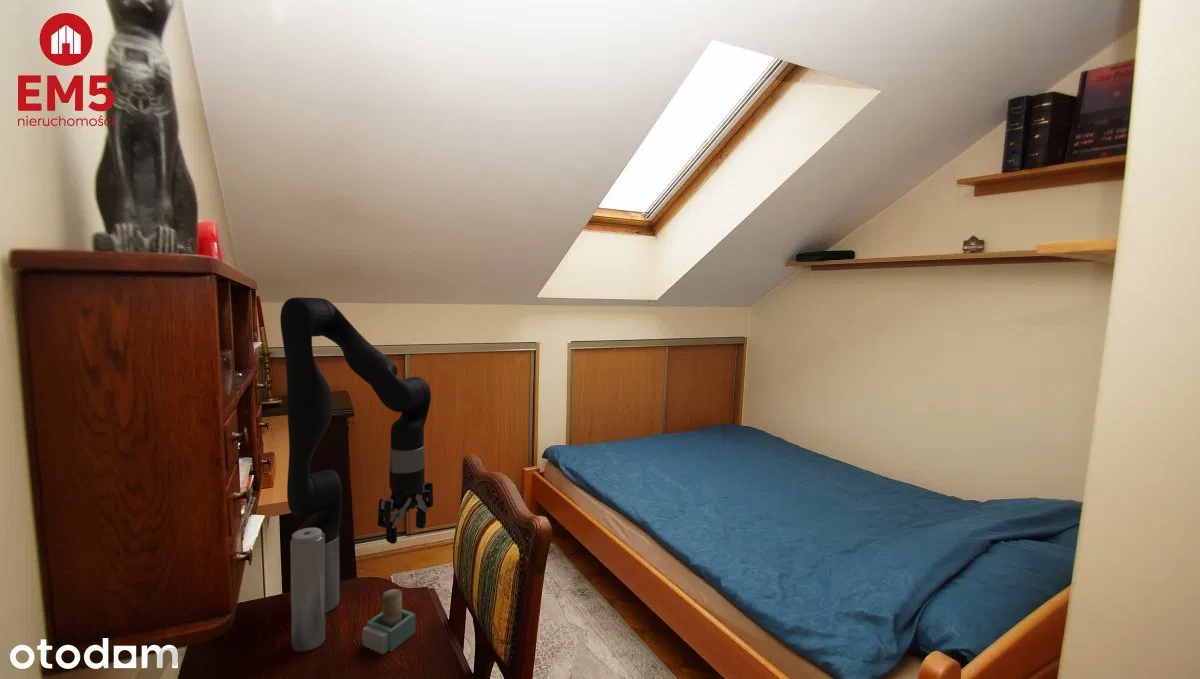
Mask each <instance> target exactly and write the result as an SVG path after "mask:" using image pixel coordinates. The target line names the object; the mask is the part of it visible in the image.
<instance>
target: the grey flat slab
mask: <svg viewBox="0 0 1200 679" xmlns="http://www.w3.org/2000/svg"><path fill="white" fill-rule="evenodd" d="M364 646H365V647H364ZM362 647H364V648H366V647H367V648H366V649H368V648H370V649H369V650H371V649H372V650H371V651H373V650H375V651H374V652H376V651H377V652H376V653H378V652H379V653H378V654H380V653H381V655H385V654H386V653H387V652H389V651H388V633H387V632H384V631H382V630H379V629H376V628H374V627H371V626H369V625H367V624H366V626H364V627H363V628H362Z"/></svg>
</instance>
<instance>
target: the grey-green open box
mask: <svg viewBox="0 0 1200 679" xmlns="http://www.w3.org/2000/svg"><path fill="white" fill-rule="evenodd" d="M367 625H369V626H371V627H374V628H376V629H379V630H382V631H384V632H387V633H388V651H387V652H393V651H394V650H395V649H396V648H397V647H399V646H400V645H402V644H404V642H405V641H407V640H408V639H410V638H411V637H412V636H413V635H414V634H416V613H414V612H412V611H408V610H406V609H403V608H402V621H401V622H399V623H398V624H396V625H395V626H394V627H392V628H389V627H386V626H384V625H383V611H381V612H380V613H378V614H377V615H375V616H374V617H373V618H371V619H369V620H368V621H367V622H366V626H367Z"/></svg>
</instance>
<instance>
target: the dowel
mask: <svg viewBox="0 0 1200 679" xmlns="http://www.w3.org/2000/svg"><path fill="white" fill-rule="evenodd" d="M402 609H403V592H402V590H401V589H397V588H394V589H388V590H386V591H385V592H384V593H383V594H382V612H383V625H384V626H386V627H389V628H392V627H394V626H395V625H396V624H398V623H399V622H401V621H402Z"/></svg>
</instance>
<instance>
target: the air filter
mask: <svg viewBox="0 0 1200 679" xmlns="http://www.w3.org/2000/svg"><path fill="white" fill-rule="evenodd" d="M289 543H290V548H289V549H290V601H291V602H290V607H291V608H290V610H291V611H290V612H291V613H290V618H291V619H290V620H291V621H290V622H291V624H290V625H291V628H290V629H291V648H292V650H293V651H296V652H301V653H303V652H308V651H312V650H315V649H316V648H318V647H320V646H321V645H323V643H324V642H325V641H324V640H326V613H325V534H324V532H322V531H321V529H319V528H305V529H301V530H298V531H297V530H296V531H295V532H293V533H292V534H291V540H290V541H289Z"/></svg>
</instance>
